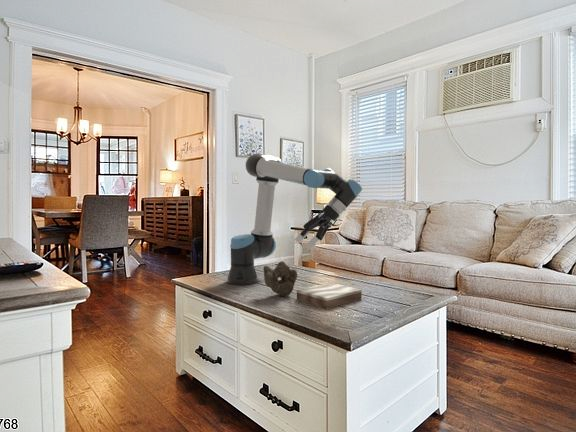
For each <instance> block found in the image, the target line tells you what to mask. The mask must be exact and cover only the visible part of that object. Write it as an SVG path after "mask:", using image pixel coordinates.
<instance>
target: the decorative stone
mask: <svg viewBox="0 0 576 432" xmlns="http://www.w3.org/2000/svg"><path fill="white" fill-rule="evenodd" d="M262 270H263V278H264V283H265V285H266V287H269V288H270V289H271V292H273V293H276V294H277V295H279V296H281V297H285V298H286V297H288V296H290V294H291V293H292V292H293V290H294V287H295V283H296V282H297V279H298V272H297V270H296V269H293V268H292V269H291V267H290V266H289V265H287V264H286V262H285V261H283V260H282V261H279V262H278V263H277V265H276V266H275V268H274V269H272V268H271V267H270V266H268V265H264V266H263V269H262ZM279 278H280V279H279Z"/></svg>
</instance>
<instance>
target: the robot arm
mask: <svg viewBox="0 0 576 432" xmlns="http://www.w3.org/2000/svg"><path fill="white" fill-rule="evenodd" d="M245 171H247V173H248V174H249V175H250V176H252V177H254V178H255V177H256V178H255V179H256V182H257V183H258V187H257V189H258V190H257V199H256V208H255V209H256V210H255V216H254V217H255V218H254V228H253V229H252V230H251V231H250V234H249V233H248V234H247V233H246V234H238V235H235V236H233V237H232V238H231V239H230V268H229V272H228V273H227V274H228V275H227V281H226V283H228V284H231V285H237V286H242V285H243V286H244V285H252V284H256V283H258V275H257V271H256V269H255V260H257V259H261V258H262V259H264V258H267V257H270V256H271V255H273V254H274V252H275V250H276V247H277V244H276V243H277V242H276V240H275V238H274V236H273V235H274V233H273V232H272V231H271V228H272V227H271V226H272V216H273V208H274V198H275V190H276V186H277V185H278V183H279V180H281V181H285V182H289V183H294V184H298V185H302V186H307V187H308V188H312V189H326V190H327V189H329V190H330V191H332V192H333V193H334V194H335V195H334V196H333V197H332V198H330V199H331V200H330V201H328V203H327V204H326V205H325V206H324V207H323V208H322V211H319V212H318V213H317V214H316V215H315V216H314V217H312V218H311V219H310V220H308V221H307V222H306V223H304V225H303V229H302V230H301V232H300V233H298V235H297V236H296V238H295V239H294V241H296V242H297V244H299V245H300V244H301V243H302V241H303V240H304V239H305V238H306V237H307V236H308V235H309V234H310V231H312V230H314V229H316V228H317V227H318V229H317V231H316V235H314V236H312V238H311V239H310V240H309V241H308V242H307V243H306V244H305V247H306V249H307V250H308V251H310V250H311V249H312V248H313V247H314V246H315V245H316V244H317V242H318V241H322V240H323V239H324V237H325V235H326V234H327V232H328V230H329V229H330V227H331V226H332V225H333V222H336V221H337V220H338V218H339V217H340V215H341V214H343V213H344V212H345V211H346V209H347V208H349V206H350V205H351V204H352V202H353V201H354V200H355V199H357V197H358V196H359V194H361V192H362V191H363V187H362V186H361V184H359V183H358V181H356V180H354V179H353V178H349V179H348V180H346V179H345V178H344V177H342V176H341V175H340V174H338V173H337V172H336V170H333V169H331V168H330V167H326V168H324V169H322V170H319V169H314V168H307V167H303V166H298V165H295V164H290V163H285V162H283V161H282V160H281V158H279V157H277V156H273V155H270V154H268V155H267V154H261V153H253V154H251V155H250V156H249V157H248V158H247V159H246V162H245ZM322 212H323V213H322ZM332 221H333V222H332Z"/></svg>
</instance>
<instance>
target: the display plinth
mask: <svg viewBox="0 0 576 432" xmlns="http://www.w3.org/2000/svg"><path fill="white" fill-rule="evenodd" d="M296 300H297V301H301V302H303V303H307V304H311V305H314V306H317V307H320V308H323V309H331V308H334V307H337V306H341V305H345V304H349V303H352V302H356V301H359V300H362V289H359V288H357V287H351V286H347V285H342V284H338V283H334V282H328V283H324V284H319V285H313V286H309V287H305V288H301V289H300V288H299V289H296Z"/></svg>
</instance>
